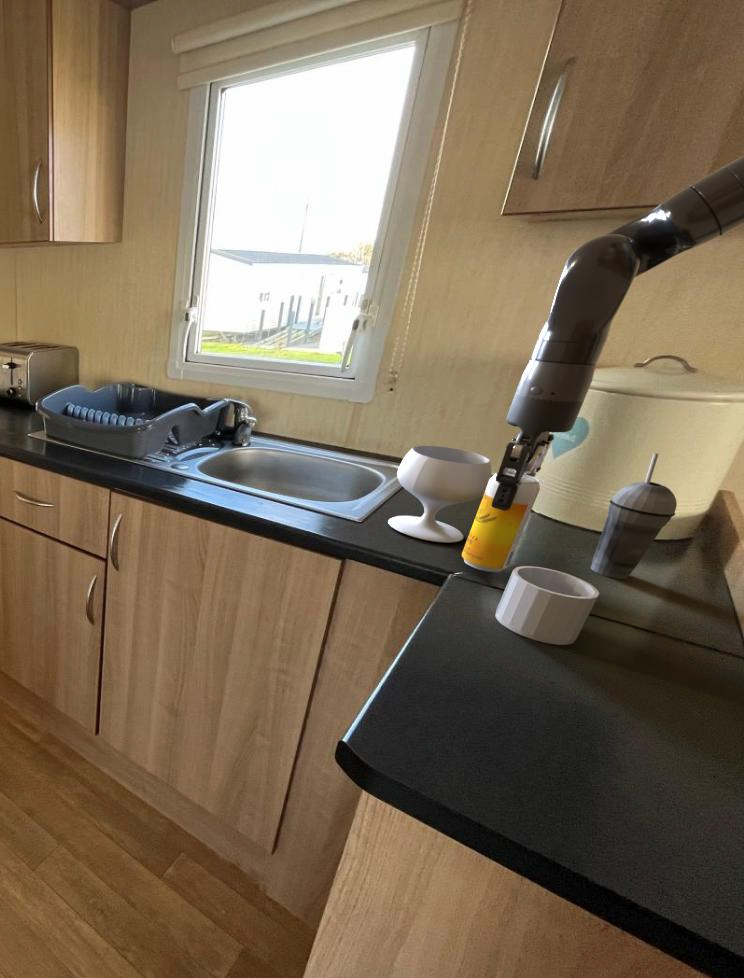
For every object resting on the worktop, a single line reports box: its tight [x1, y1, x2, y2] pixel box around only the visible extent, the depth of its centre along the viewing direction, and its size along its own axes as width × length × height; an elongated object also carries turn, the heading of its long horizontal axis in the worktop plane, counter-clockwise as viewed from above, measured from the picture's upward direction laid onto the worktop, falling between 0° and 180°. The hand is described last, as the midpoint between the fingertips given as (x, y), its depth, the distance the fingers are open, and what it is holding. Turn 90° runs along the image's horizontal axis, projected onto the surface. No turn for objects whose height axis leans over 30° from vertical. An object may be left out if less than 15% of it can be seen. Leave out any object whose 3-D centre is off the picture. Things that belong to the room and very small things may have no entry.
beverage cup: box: [590, 452, 678, 580], centre depth 86 cm, size 7×7×20 cm
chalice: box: [387, 445, 492, 543], centre depth 101 cm, size 14×14×15 cm
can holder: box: [494, 565, 600, 646], centre depth 73 cm, size 9×9×7 cm
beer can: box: [461, 471, 541, 573], centre depth 86 cm, size 6×6×15 cm
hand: (506, 503), depth 85 cm, fingers closed on beer can, 6 cm apart
